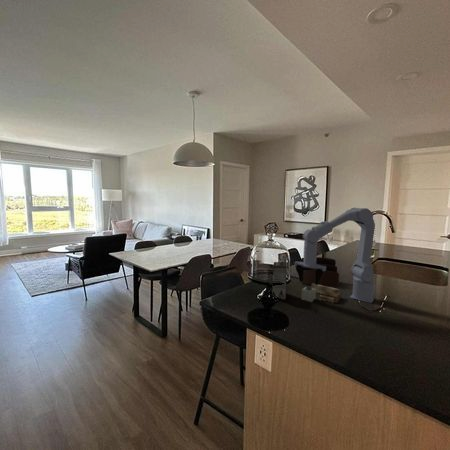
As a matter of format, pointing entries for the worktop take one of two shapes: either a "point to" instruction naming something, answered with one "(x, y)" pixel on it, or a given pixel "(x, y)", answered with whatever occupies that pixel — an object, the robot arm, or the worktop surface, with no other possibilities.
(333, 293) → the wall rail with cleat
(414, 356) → the worktop surface
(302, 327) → the worktop surface
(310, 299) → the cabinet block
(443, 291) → the worktop surface
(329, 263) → the letter holder
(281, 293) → the coffee box
